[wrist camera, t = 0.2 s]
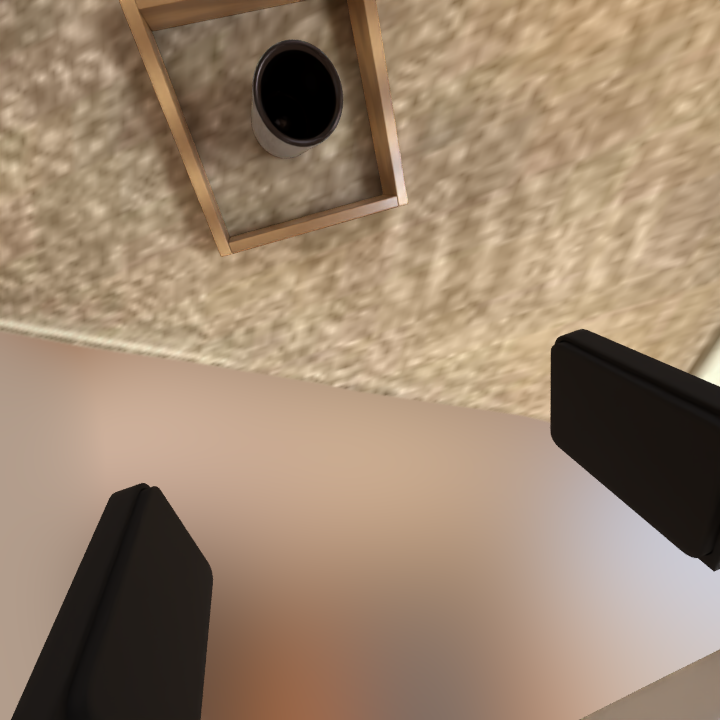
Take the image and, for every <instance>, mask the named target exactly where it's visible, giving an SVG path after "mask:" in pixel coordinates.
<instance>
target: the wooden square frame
mask: <svg viewBox="0 0 720 720" xmlns="http://www.w3.org/2000/svg"><path fill="white" fill-rule="evenodd" d="M299 1H304V0H119V2H120V5H121V7H122V10H123V12H124V15H125V17H126V20H127V22H128V25H129V27H130V30H131V32H132V35H133V37H134V40H135V42H136V45H137V47H138V50H139V52H140V55H141V57H142V60H143V62H144V65H145V67H146V70H147V72H148V75H149V77H150V80H151V82H152V85H153V87H154V90H155V92H156V95H157V97H158V100H159V102H160V105H161V107H162V110H163V112H164V115H165V117H166V120H167V122H168V125H169V127H170V130H171V132H172V135H173V137H174V140H175V142H176V145H177V148H178V150H179V153H180V155H181V158H182V160H183V163H184V165H185V168H186V170H187V173H188V175H189V178H190V180H191V183H192V185H193V188H194V190H195V193H196V195H197V198H198V200H199V203H200V205H201V208H202V210H203V213H204V215H205V218H206V220H207V223H208V225H209V228H210V230H211V233H212V235H213V238H214V240H215V243H216V245H217V248H218V250H219V253H220V255H221V257H223V256H227V255H230V254H234V253H237V252H241V251H244V250H248V249H251V248H255V247H258V246H262V245H265V244H269V243H272V242H276V241H279V240H283V239H286V238H290V237H293V236H297V235H300V234H304V233H307V232H311V231H315V230H318V229H322V228H325V227H329V226H332V225H336V224H339V223H343V222H346V221H350V220H353V219H357V218H360V217H364V216H367V215H371V214H374V213H378V212H381V211H385V210H388V209H392V208H395V207H398V206H402V205H406V204H408V199H407V192H406V186H405V180H404V174H403V167H402V161H401V155H400V149H399V142H398V136H397V130H396V124H395V117H394V111H393V105H392V99H391V92H390V86H389V80H388V74H387V67H386V61H385V55H384V49H383V42H382V36H381V30H380V24H379V18H378V11H377V5H376V0H347V4H348V10H349V15H350V20H351V26H352V31H353V36H354V42H355V47H356V52H357V58H358V63H359V68H360V74H361V79H362V84H363V90H364V95H365V100H366V106H367V111H368V117H369V122H370V127H371V133H372V138H373V143H374V149H375V154H376V159H377V165H378V170H379V175H380V181H381V186H382V191H383V195H380V196H376V197H373V198H369V199H365V200H362V201H358V202H355V203H351V204H347V205H344V206H340V207H337V208H333V209H330V210H326V211H322V212H319V213H315V214H312V215H308V216H304V217H301V218H297V219H294V220H290V221H286V222H283V223H279V224H276V225H272V226H269V227H265V228H261V229H258V230H254V231H251V232H247V233H243V234H240V235H236V236H233V237H230V236H229V234H228V231H227V228H226V226H225V223H224V221H223V218H222V215H221V213H220V210H219V207H218V205H217V202H216V199H215V197H214V194H213V191H212V189H211V186H210V184H209V181H208V178H207V176H206V173H205V170H204V168H203V165H202V162H201V160H200V157H199V155H198V152H197V149H196V147H195V144H194V141H193V139H192V136H191V133H190V131H189V128H188V126H187V123H186V120H185V118H184V115H183V112H182V110H181V107H180V104H179V102H178V99H177V97H176V94H175V91H174V89H173V86H172V83H171V81H170V78H169V75H168V73H167V70H166V68H165V65H164V62H163V60H162V57H161V54H160V52H159V49H158V46H157V44H156V41H155V39H154V36H153V33H152V31H156V30H161V29H166V28H171V27H176V26H181V25H185V24H190V23H195V22H200V21H205V20H210V19H215V18H220V17H225V16H230V15H235V14H240V13H245V12H250V11H254V10H259V9H264V8H269V7H274V6H279V5H284V4H289V3H294V2H299ZM151 30H152V31H151Z"/></svg>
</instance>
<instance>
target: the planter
mask: <svg viewBox="0 0 720 720" xmlns="http://www.w3.org/2000/svg"><path fill="white" fill-rule="evenodd" d="M342 108H343V91H342V85H341V81H340V78H339V75H338V73H337V71H336V69H335V67H334V65H333V64H332V62H331V61H330V59H329V58H328V57H327V56H326V55H325V54H324V53H323V52H322V51H321V50H320V49H318V48H317V47H315V46H314V45H312V44H310V43H308V42H305V41H301V40H285V41H281V42H279V43H276V44H275V45H273V46H271V47H270V48H269V49H268V50H267V51H266V52H265V53H264V54H263V55H262V57H261V58H260V60H259V62H258V64H257V66H256V69H255V72H254V77H253V85H252V108H251V123H252V128H253V131H254V134H255V136H256V138H257V140H258V142H259V143H260V145H261V146H262V147H263V148H264V149H265V150H266V151H267V152H269V153H270V154H272V155H274V156H276V157H280V158H293V157H296V156H299V155H301V154H302V153H304V152H306V151H308V150H309V149H311V148H313V147H315V146H316V145H318V144H320V143H321V142H323V141H324V140H326V139H327V138H328V137H329V136H330V135H331V134H332V133H333V131H334V130H335V128H336V127H337V125H338V123H339V120H340V117H341V113H342Z"/></svg>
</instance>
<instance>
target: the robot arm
mask: <svg viewBox="0 0 720 720" xmlns="http://www.w3.org/2000/svg"><path fill="white" fill-rule="evenodd" d="M551 436H552V439H553V441H554V442H555V444H556V445H557V446H558V447H559V448H560V449H562V450H563V451H564V452H565V453H566V454H567V455H569V456H570V457H571V458H572V459H574V460H575V461H576V462H577V463H578V464H579V465H581V466H582V467H583V468H584V469H585V470H586V471H588V472H589V473H590V474H591V475H592V476H594V477H595V478H596V479H597V480H598V481H599V482H601V483H602V484H603V485H604V486H605V487H607V488H608V489H609V490H610V491H612V492H613V493H614V494H615V495H616V496H617V497H618V498H620V499H621V500H622V501H623V502H624V503H625V504H627V505H628V506H629V507H630V508H631V509H633V510H634V511H635V512H636V513H637V514H638V515H640V516H641V517H642V518H643V519H644V520H646V521H647V522H648V523H649V524H650V525H652V526H653V527H654V528H655V529H656V530H658V531H659V532H660V533H661V534H662V535H664V536H665V537H666V538H667V539H668V540H669V541H670V542H672V543H673V544H674V545H675V546H676V547H678V548H679V549H680V550H681V551H683V552H684V553H685V554H687V555H689V556H691V557H694V558H698V559H700V560H701V561H702V562H703V563H704V564H706V565H707V566H708V567H709V568H710V569H712V570H713V571H716V570H718V569H720V387H719V386H717V385H714V384H712V383H710V382H707V381H705V380H703V379H700V378H698V377H696V376H693V375H691V374H689V373H686V372H684V371H682V370H679V369H677V368H675V367H672V366H670V365H668V364H665V363H663V362H661V361H658V360H656V359H654V358H651V357H649V356H647V355H644V354H642V353H640V352H637V351H635V350H633V349H630V348H628V347H626V346H623V345H621V344H619V343H616V342H614V341H612V340H609V339H607V338H605V337H602V336H600V335H598V334H595V333H593V332H591V331H588V330H585V329H580V330H577V331H574V332H571V333H568V334H565V335H563V336H560V337H558V338H557V340H556V342H555V345H554V346H552V348H551ZM212 586H213V576H212V570H211V568H210V565H209V563H208V562H207V560H206V559H205V557H204V556H203V554H202V553H201V551H200V550H199V548H198V546H197V545H196V543H195V542H194V540H193V539H192V537H191V536H190V534H189V533H188V531H187V530H186V529H185V527H184V525H183V524H182V522H181V520H180V519H179V517H178V516H177V515H176V513H175V511H174V510H173V508H172V507H171V505H170V504H169V502H168V501H167V499H166V498H165V496H164V495H163V493H162V492H161V490H160V489H159V488H158V487H156V486H153V487H149V485H147V484H145V483H141V484H138V485H135V486H132V487H129V488H126V489H124V490H121V491H118V492H115V493H114V494H112V495H111V497H110V498H109V501H108V503H107V505H106V507H105V510H104V512H103V514H102V516H101V519H100V521H99V523H98V525H97V528H96V530H95V532H94V534H93V537H92V539H91V541H90V543H89V545H88V548H87V550H86V552H85V554H84V557H83V559H82V561H81V563H80V566H79V568H78V570H77V573H76V575H75V577H74V579H73V581H72V584H71V586H70V588H69V590H68V593H67V595H66V597H65V599H64V602H63V604H62V606H61V608H60V611H59V613H58V615H57V617H56V620H55V622H54V624H53V627H52V629H51V631H50V633H49V636H48V638H47V640H46V642H45V644H44V647H43V649H42V651H41V653H40V656H39V658H38V660H37V662H36V665H35V667H34V669H33V672H32V674H31V676H30V678H29V680H28V683H27V685H26V687H25V689H24V692H23V694H22V696H21V698H20V701H19V703H18V705H17V708H16V710H15V712H14V714H13V717H12V719H11V720H200V718H201V707H202V697H203V685H204V675H205V664H206V652H207V641H208V629H209V619H210V608H211V597H212ZM580 720H720V650H718V651H716V652H714V653H712V654H710V655H708V656H706V657H704V658H702V659H700V660H698V661H696V662H694V663H692V664H690V665H687V666H686V667H683V668H681V669H679V670H678V671H675V672H673V673H671V674H669V675H667V676H665V677H663V678H661V679H659V680H657V681H656V682H653V683H652V684H649V685H648V686H645V687H643V688H641V689H639V690H638V691H636V692H634V693H632V694H630V695H628V696H626V697H624V698H622V699H620V700H618V701H616V702H614V703H612V704H610V705H608V706H606V707H604V708H602V709H600V710H598V711H596V712H594V713H592V714H590V715H588V716H586V717H584V718H582V719H580Z"/></svg>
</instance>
